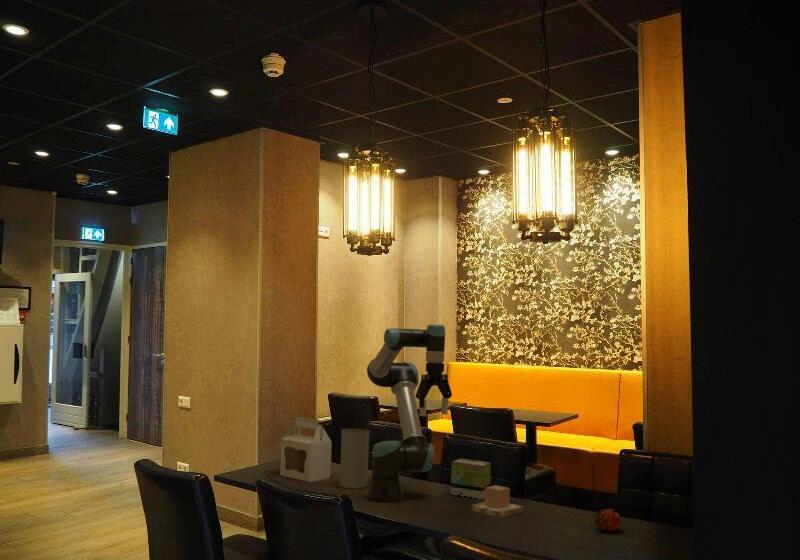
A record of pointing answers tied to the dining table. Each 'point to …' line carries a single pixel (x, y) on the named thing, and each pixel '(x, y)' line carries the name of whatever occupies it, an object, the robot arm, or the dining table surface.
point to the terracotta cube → (497, 496)
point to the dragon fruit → (607, 520)
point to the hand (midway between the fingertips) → (433, 415)
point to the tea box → (470, 478)
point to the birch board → (497, 510)
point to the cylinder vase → (354, 458)
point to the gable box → (298, 445)
